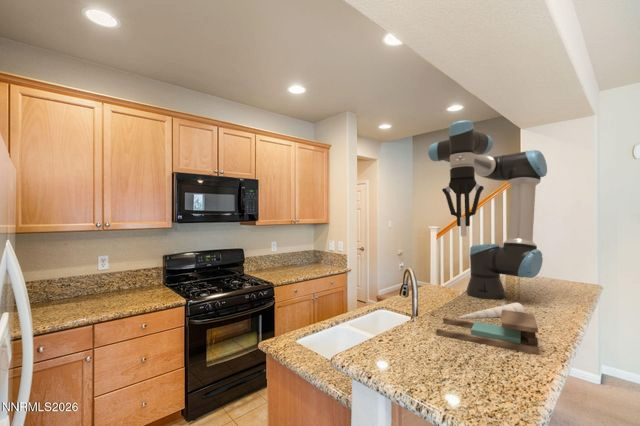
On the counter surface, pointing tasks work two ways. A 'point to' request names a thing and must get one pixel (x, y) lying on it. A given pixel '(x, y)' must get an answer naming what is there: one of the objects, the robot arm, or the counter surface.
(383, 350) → the counter surface
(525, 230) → the robot arm
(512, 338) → the tile
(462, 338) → the overhang
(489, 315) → the unicorn horn
